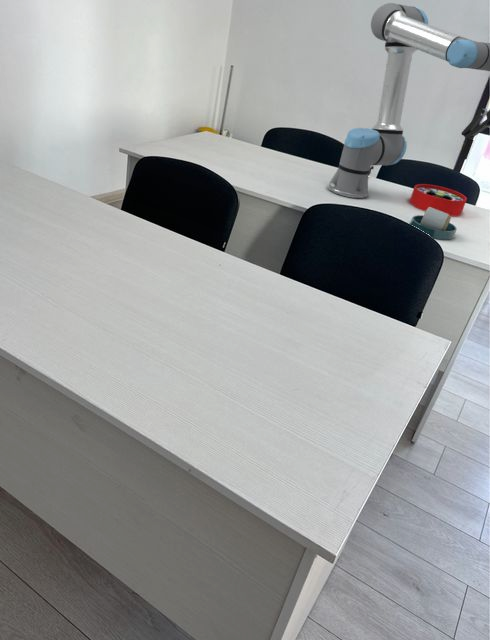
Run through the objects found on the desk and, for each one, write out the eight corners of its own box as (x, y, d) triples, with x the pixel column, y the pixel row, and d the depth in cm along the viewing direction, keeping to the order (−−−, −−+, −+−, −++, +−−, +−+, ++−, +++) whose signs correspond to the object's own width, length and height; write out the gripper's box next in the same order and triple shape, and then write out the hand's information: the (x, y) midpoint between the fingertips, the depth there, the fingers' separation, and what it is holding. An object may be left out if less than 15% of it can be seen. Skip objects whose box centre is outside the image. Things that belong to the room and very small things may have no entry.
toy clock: (435, 200, 213) (404, 182, 229) (429, 215, 216) (399, 197, 232) (478, 202, 220) (445, 185, 236) (472, 217, 223) (440, 199, 239)
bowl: (411, 220, 208) (414, 212, 206) (454, 231, 204) (457, 223, 202) (406, 231, 196) (409, 222, 194) (452, 243, 192) (455, 235, 190)
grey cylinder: (441, 238, 194) (450, 215, 190) (417, 230, 197) (425, 208, 193) (447, 231, 202) (455, 209, 198) (423, 224, 205) (431, 202, 201)
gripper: (466, 88, 189) (442, 154, 200) (537, 105, 172) (507, 177, 183) (479, 89, 193) (455, 154, 204) (550, 106, 176) (520, 176, 187)
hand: (480, 165), depth 194 cm, fingers open, 13 cm apart
